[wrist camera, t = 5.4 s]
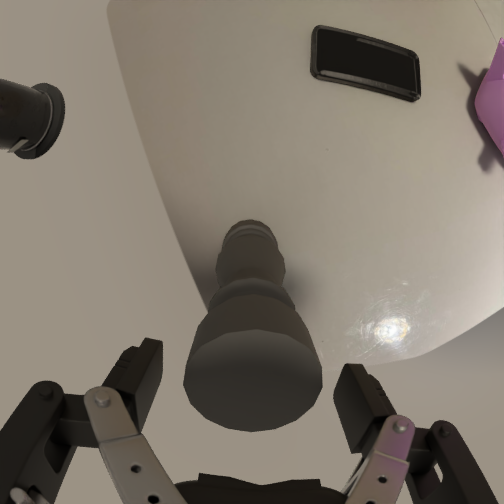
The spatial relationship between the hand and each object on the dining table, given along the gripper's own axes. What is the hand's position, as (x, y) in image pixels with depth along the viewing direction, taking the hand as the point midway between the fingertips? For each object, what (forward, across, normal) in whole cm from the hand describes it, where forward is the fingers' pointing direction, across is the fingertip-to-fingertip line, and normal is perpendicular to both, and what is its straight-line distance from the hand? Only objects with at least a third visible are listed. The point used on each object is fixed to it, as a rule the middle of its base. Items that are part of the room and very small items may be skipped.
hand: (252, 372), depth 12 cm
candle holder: (+24, 0, 0) cm, 24 cm away
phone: (+24, -11, -26) cm, 37 cm away
